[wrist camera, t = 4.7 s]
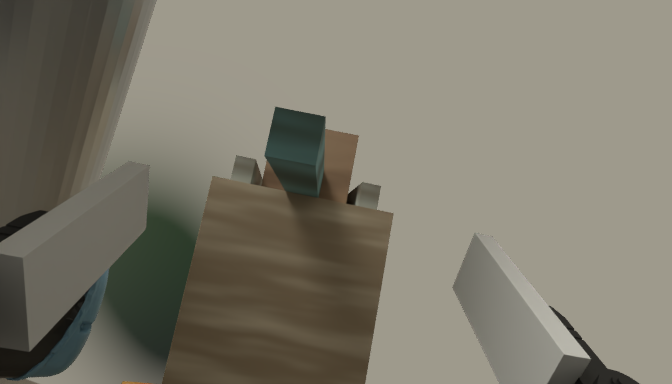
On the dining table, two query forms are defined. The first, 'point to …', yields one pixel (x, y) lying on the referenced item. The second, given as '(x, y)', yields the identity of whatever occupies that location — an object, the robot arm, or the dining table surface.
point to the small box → (133, 383)
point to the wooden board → (280, 286)
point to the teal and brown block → (308, 156)
